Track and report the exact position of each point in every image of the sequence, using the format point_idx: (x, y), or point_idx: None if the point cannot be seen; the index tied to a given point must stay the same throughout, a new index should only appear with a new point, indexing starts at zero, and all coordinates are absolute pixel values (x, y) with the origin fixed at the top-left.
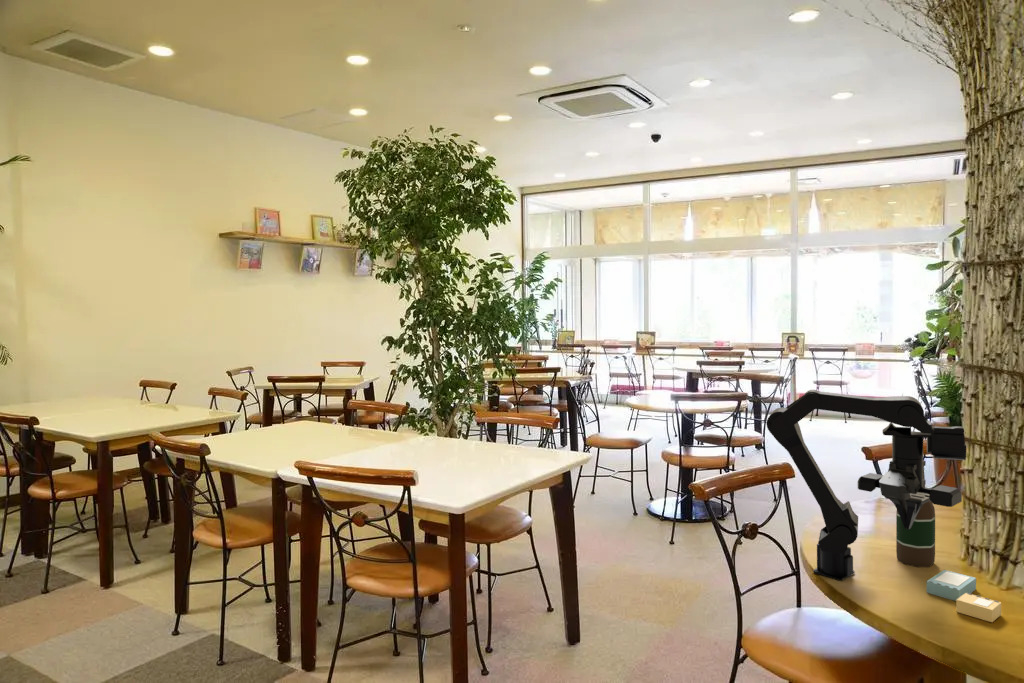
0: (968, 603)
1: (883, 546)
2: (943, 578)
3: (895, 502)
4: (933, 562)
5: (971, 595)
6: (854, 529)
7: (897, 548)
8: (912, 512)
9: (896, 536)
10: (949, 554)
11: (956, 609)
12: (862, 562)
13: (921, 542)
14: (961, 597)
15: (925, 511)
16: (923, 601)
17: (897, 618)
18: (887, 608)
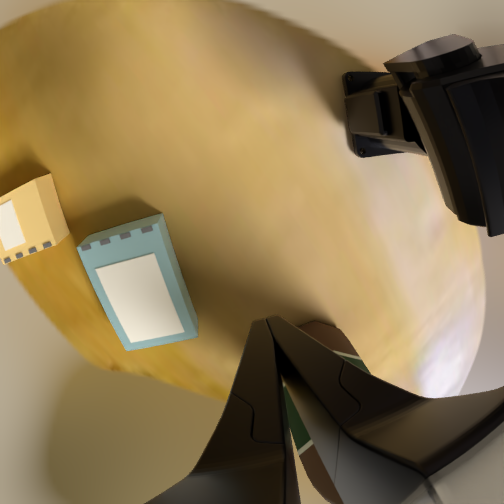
0: (14, 189)
1: (384, 351)
2: (149, 283)
3: (421, 415)
4: None
5: (41, 241)
6: (437, 78)
7: (347, 343)
8: (222, 421)
9: (364, 364)
10: None
11: (47, 174)
12: (380, 243)
13: None
14: (39, 205)
15: (319, 469)
16: (127, 151)
17: (104, 12)
18: (151, 28)
